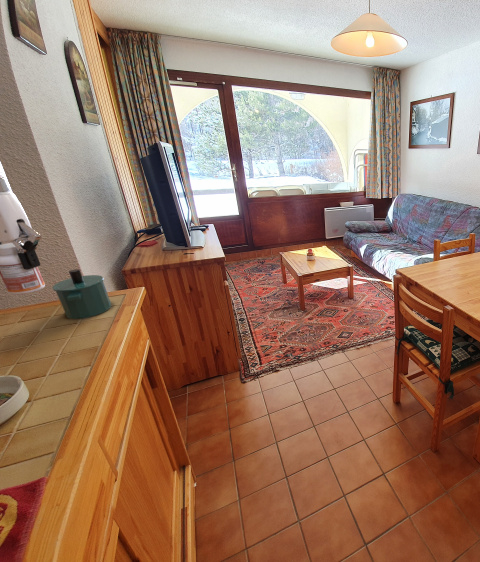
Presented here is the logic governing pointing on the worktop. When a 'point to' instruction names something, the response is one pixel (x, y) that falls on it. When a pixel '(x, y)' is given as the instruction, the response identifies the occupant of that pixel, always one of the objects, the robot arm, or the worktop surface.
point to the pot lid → (77, 282)
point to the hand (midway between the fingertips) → (17, 266)
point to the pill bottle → (18, 272)
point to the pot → (85, 302)
